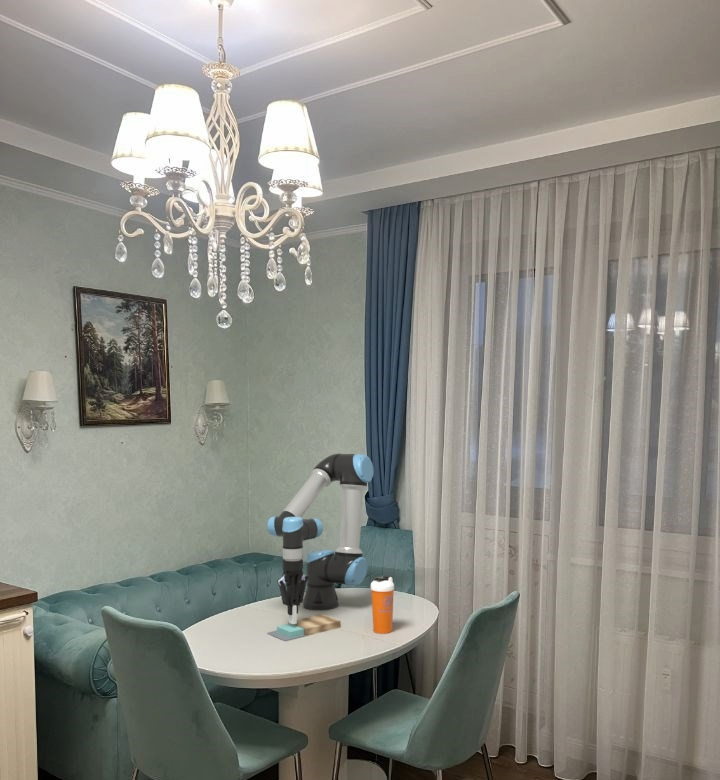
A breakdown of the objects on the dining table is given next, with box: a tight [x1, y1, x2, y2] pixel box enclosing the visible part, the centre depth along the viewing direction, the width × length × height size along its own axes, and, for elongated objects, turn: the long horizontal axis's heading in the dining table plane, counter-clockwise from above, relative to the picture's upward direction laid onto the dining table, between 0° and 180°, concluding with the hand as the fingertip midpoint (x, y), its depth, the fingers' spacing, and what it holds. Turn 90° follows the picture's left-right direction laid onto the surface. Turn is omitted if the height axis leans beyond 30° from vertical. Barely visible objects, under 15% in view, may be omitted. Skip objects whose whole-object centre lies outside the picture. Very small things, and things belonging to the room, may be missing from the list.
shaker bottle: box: [370, 574, 395, 635], centre depth 267 cm, size 9×9×20 cm
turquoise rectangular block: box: [276, 623, 304, 638], centre depth 263 cm, size 6×9×2 cm, turn 40°
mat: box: [266, 630, 306, 642], centre depth 262 cm, size 9×12×1 cm
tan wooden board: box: [287, 614, 342, 637], centre depth 271 cm, size 16×12×2 cm
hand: (292, 623), depth 264 cm, fingers closed
